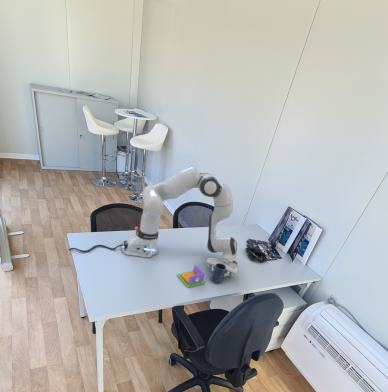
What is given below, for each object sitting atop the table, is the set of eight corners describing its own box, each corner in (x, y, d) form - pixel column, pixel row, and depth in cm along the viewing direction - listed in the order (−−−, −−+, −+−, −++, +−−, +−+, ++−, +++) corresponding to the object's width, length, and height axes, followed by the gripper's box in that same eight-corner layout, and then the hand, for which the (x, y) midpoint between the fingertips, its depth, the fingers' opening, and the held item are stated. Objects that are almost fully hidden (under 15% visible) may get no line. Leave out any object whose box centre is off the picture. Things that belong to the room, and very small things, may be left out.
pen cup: (213, 283, 171) (217, 269, 165) (210, 277, 176) (214, 263, 170) (222, 283, 174) (227, 269, 167) (219, 277, 178) (223, 263, 172)
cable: (241, 249, 212) (243, 244, 209) (257, 249, 217) (259, 244, 215) (252, 262, 200) (254, 257, 197) (268, 262, 205) (271, 257, 202)
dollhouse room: (204, 283, 170) (207, 274, 166) (188, 287, 163) (190, 278, 159) (193, 271, 177) (196, 262, 173) (177, 275, 170) (179, 266, 166)
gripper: (210, 252, 181) (203, 262, 171) (241, 264, 178) (235, 275, 167) (208, 260, 185) (201, 271, 174) (238, 272, 182) (232, 284, 171)
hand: (218, 273), depth 171 cm, fingers closed on pen cup, 6 cm apart
